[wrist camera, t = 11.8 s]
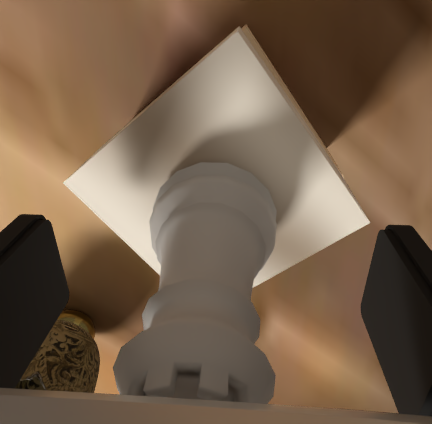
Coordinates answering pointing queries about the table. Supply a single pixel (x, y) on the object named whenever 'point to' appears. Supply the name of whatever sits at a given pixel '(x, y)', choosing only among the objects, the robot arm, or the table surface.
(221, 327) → the rook chess piece
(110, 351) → the table surface
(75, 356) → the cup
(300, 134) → the tower top
